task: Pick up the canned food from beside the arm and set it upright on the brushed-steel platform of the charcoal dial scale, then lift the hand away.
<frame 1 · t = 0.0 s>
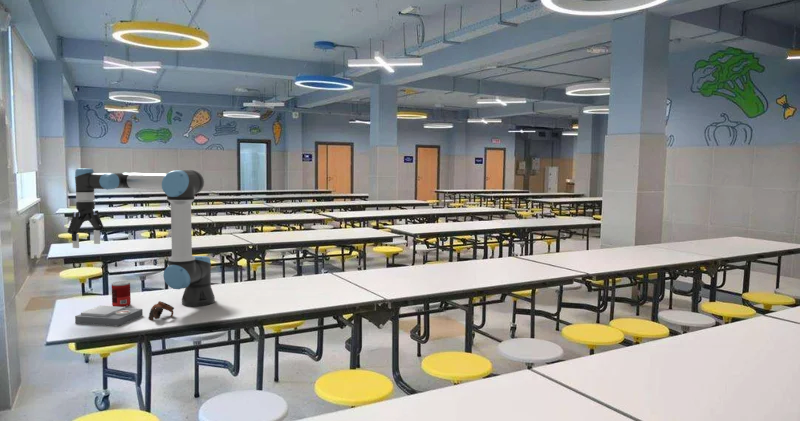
hand: (86, 245, 254), 28 cm above the table, tool pointing down, fingers open, 13 cm apart
brown arched piece: (160, 318, 235), on the table
dial scale: (109, 319, 232), on the table
canned food: (121, 306, 254), on the table
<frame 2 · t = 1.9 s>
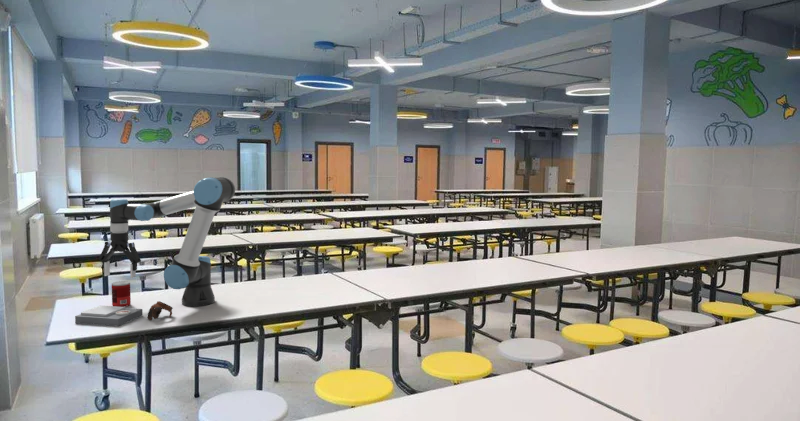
hand: (120, 276, 253), 14 cm above the table, tool pointing down, fingers open, 13 cm apart
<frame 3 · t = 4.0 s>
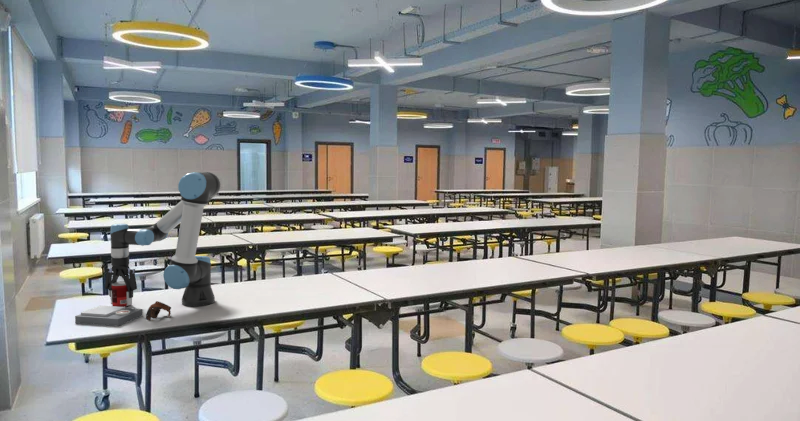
hand: (121, 304, 254), 1 cm above the table, tool pointing down, fingers closed on canned food, 8 cm apart
canned food: (121, 305, 254), on the table, touching gripper
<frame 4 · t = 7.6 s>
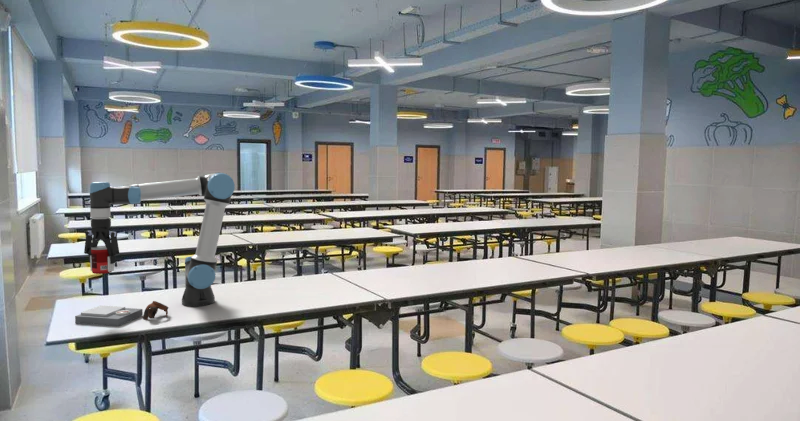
hand: (102, 270, 231), 21 cm above the table, tool pointing down, fingers closed on canned food, 8 cm apart
brown arched piece: (154, 318, 235), on the table
canned food: (102, 272, 231), point 20 cm above the table, touching gripper
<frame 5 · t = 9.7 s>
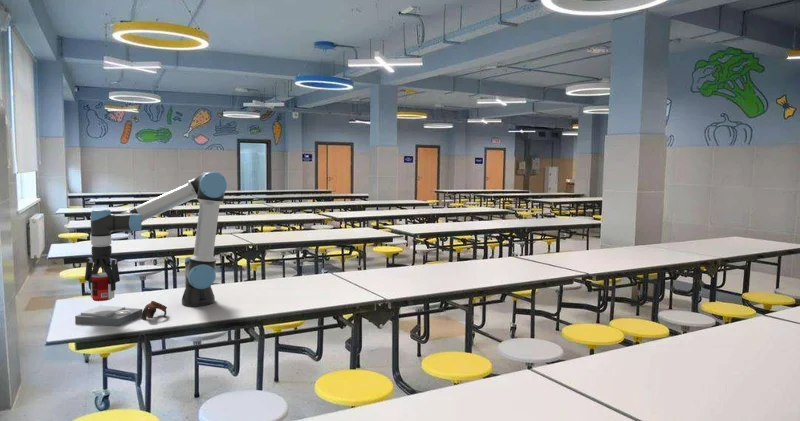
hand: (102, 297, 232), 9 cm above the table, tool pointing down, fingers closed on canned food, 8 cm apart
canned food: (102, 299, 232), point 9 cm above the table, touching gripper
when the fingers open (6 cm above the table, at t = 11.3 s): canned food drops 1 cm, resting on dial scale.
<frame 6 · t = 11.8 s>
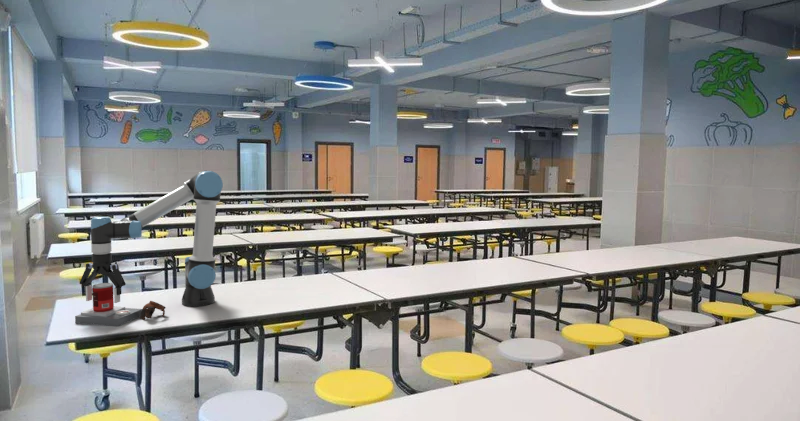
hand: (103, 301, 232), 8 cm above the table, tool pointing down, fingers open, 13 cm apart
canned food: (103, 310, 232), point 4 cm above the table, touching dial scale
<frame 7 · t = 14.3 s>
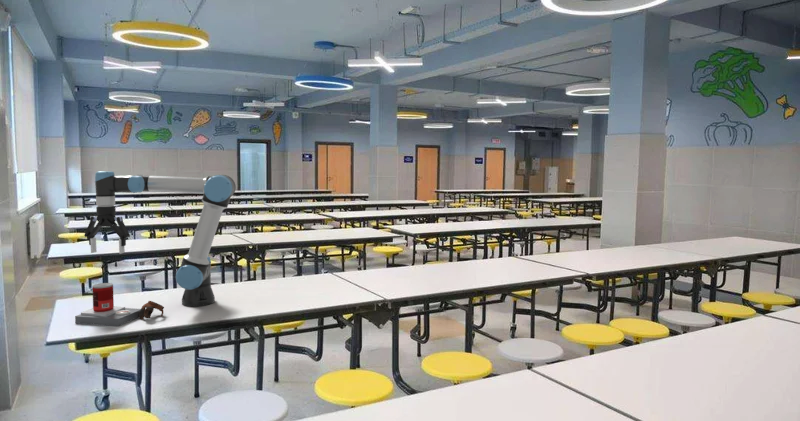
hand: (107, 252, 241), 27 cm above the table, tool pointing down, fingers open, 13 cm apart
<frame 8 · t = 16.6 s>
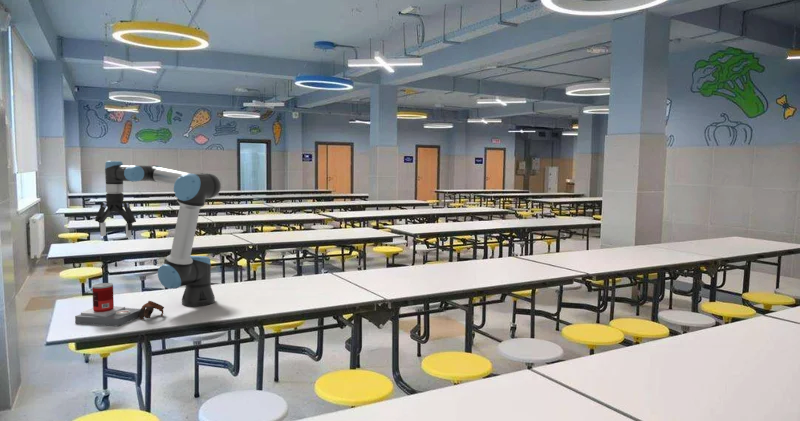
hand: (115, 236, 261), 32 cm above the table, tool pointing down, fingers open, 13 cm apart
at the end: canned food inside the target area on the dial scale (0.1 cm from its centre), point 3.8 cm above the dial scale's base; canned food tilted 0°; the gripper is holding nothing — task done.
